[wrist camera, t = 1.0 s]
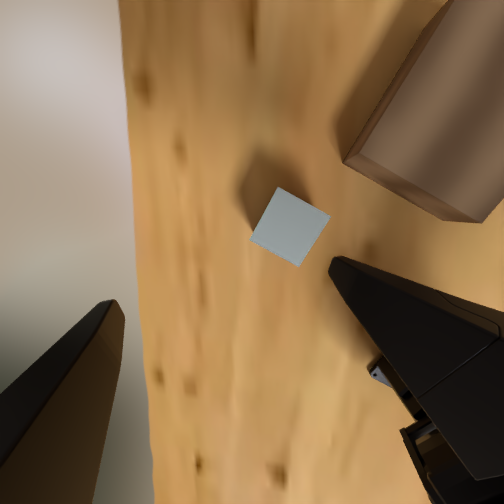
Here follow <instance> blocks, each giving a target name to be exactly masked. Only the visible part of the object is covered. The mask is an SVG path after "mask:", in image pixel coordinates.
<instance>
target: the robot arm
mask: <svg viewBox="0 0 504 504" xmlns="http://www.w3.org/2000/svg"><path fill="white" fill-rule="evenodd" d="M328 273H329V276H330V278H331V279H332V281H333V283H334V284H335V286H336V288H337V289H338V291H339V293H340V294H341V296H342V298H343V299H344V301H345V302H346V304H347V305H348V307H349V308H350V309H351V311H352V312H353V313H354V315H355V316H356V318H357V319H358V320H359V322H360V323H361V324H362V326H363V327H364V329H365V330H366V331H367V333H368V334H369V335H370V337H371V338H372V339H373V341H374V342H375V344H376V345H377V346H378V348H379V349H380V350H381V352H382V353H383V356H382V357H381V358H380V360H379V361H378V362H377V363H376V364H375V365H374V366H373V367H372V368H371V370H370V371H369V374H370V375H371V377H372V378H374V379H376V380H378V381H380V382H382V383H383V384H385V385H387V386H389V387H391V388H393V390H394V391H395V393H396V394H397V396H398V397H399V399H400V400H401V401H402V403H403V404H404V406H405V407H406V409H407V410H408V412H409V413H410V415H411V416H412V418H413V419H414V420H415V423H413V424H411V425H410V426H408V427H406V428H402V429H400V430H399V431H400V433H401V435H402V437H403V442H404V444H405V446H406V448H407V450H408V453H409V455H410V457H411V459H412V461H413V464H414V466H415V468H416V470H417V472H418V475H419V477H420V479H421V481H422V483H423V486H424V488H425V490H426V491H427V494H428V497H429V500H430V501H431V503H432V504H504V312H501V311H498V310H495V309H492V308H489V307H486V306H483V305H480V304H476V303H473V302H470V301H467V300H464V299H461V298H459V297H456V296H453V295H450V294H447V293H444V292H442V291H439V290H434V289H433V288H430V287H428V286H425V285H422V284H419V283H416V282H414V281H411V280H408V279H405V278H402V277H400V276H397V275H394V274H391V273H389V272H386V271H383V270H380V269H377V268H375V267H372V266H369V265H366V264H364V263H361V262H358V261H355V260H352V259H350V258H347V257H344V256H337V257H334V258H333V259H332V261H331V264H330V267H329V270H328ZM124 326H125V316H124V313H123V312H122V310H121V308H120V306H119V304H118V302H117V301H116V300H114V299H112V300H106V301H102V302H100V303H98V304H97V305H96V306H95V307H94V308H93V309H92V310H91V311H90V312H88V313H87V314H86V315H85V316H84V317H83V318H82V319H81V320H80V321H79V322H78V323H77V324H75V325H74V326H73V327H72V328H71V329H70V330H69V331H68V332H67V333H66V334H65V335H64V336H62V337H61V338H60V339H59V340H58V341H57V342H56V343H55V344H54V345H53V346H52V347H51V348H49V349H48V350H47V351H46V352H45V353H44V354H43V355H42V356H41V357H40V358H39V359H38V360H36V361H35V362H34V363H33V364H32V365H31V366H30V367H29V368H28V369H27V370H26V371H24V372H23V373H22V374H21V375H20V376H19V377H18V378H17V379H16V380H15V381H14V382H13V383H11V384H10V385H9V386H8V387H7V388H6V389H5V390H4V391H3V392H2V393H1V394H0V504H92V501H93V496H94V491H95V486H96V482H97V477H98V473H99V468H100V463H101V458H102V453H103V448H104V444H105V439H106V434H107V429H108V425H109V420H110V415H111V410H112V406H113V401H114V396H115V391H116V387H117V381H118V377H119V372H120V367H121V360H122V349H123V338H124Z"/></svg>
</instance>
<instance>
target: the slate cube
mask: <svg viewBox="0 0 504 504" xmlns="http://www.w3.org/2000/svg"><path fill="white" fill-rule="evenodd" d="M330 217H331V216H329V215H328V214H326V213H324V212H322V211H320V210H319V209H317V208H315V207H313V206H311V205H310V204H308V203H306V202H304V201H303V200H301V199H299V198H297V197H295V196H294V195H292V194H290V193H288V192H287V191H285V190H283V189H281V188H279V187H278V188H277V190H276V191H275V193H274V195H273V197H272V199H271V201H270V202H269V204H268V206H267V208H266V210H265V212H264V214H263V215H262V217H261V219H260V221H259V223H258V225H257V227H256V228H255V230H254V232H253V234H252V236H251V238H250V239H249V240H250V241H252V242H254V243H256V244H258V245H260V246H261V247H263V248H265V249H267V250H269V251H271V252H272V253H274V254H276V255H278V256H280V257H282V258H283V259H285V260H287V261H289V262H291V263H293V264H294V265H296V266H298V267H299V266H300V264H301V263H302V261H303V260H304V258H305V256H306V255H307V253H308V252H309V250H310V249H311V247H312V246H313V244H314V242H315V241H316V239H317V238H318V236H319V235H320V233H321V232H322V230H323V228H324V227H325V225H326V224H327V222H328V221H329V219H330Z"/></svg>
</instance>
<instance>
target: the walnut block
mask: <svg viewBox="0 0 504 504" xmlns="http://www.w3.org/2000/svg"><path fill="white" fill-rule="evenodd" d="M343 164H345V165H347V166H348V167H350V168H352V169H354V170H355V171H357V172H359V173H361V174H362V175H364V176H366V177H368V178H369V179H371V180H373V181H375V182H376V183H378V184H380V185H382V186H383V187H385V188H387V189H388V190H390V191H392V192H394V193H395V194H397V195H399V196H401V197H402V198H404V199H406V200H408V201H409V202H411V203H413V204H415V205H416V206H418V207H420V208H422V209H423V210H425V211H427V212H429V213H430V214H432V215H434V216H436V217H437V218H439V219H441V220H443V221H454V222H468V223H481V224H482V222H483V221H484V220H485V219H486V218H487V217H488V215H489V214H490V213H491V212H492V211H493V210H494V209H495V207H496V206H497V205H498V204H499V203H500V202H501V201H502V199H503V198H504V0H448V1H447V2H446V3H445V5H444V6H443V7H442V8H441V9H440V10H439V12H438V13H437V14H436V15H435V16H434V17H433V18H432V20H431V21H430V22H429V23H428V24H427V25H426V27H425V28H424V30H423V31H422V33H421V35H420V36H419V38H418V40H417V41H416V43H415V44H414V46H413V48H412V49H411V51H410V53H409V54H408V56H407V58H406V59H405V61H404V63H403V64H402V66H401V67H400V69H399V71H398V72H397V74H396V76H395V77H394V79H393V81H392V82H391V84H390V86H389V87H388V89H387V90H386V92H385V94H384V95H383V97H382V99H381V100H380V102H379V104H378V105H377V107H376V109H375V110H374V112H373V113H372V115H371V117H370V118H369V120H368V122H367V123H366V125H365V127H364V128H363V130H362V131H361V133H360V135H359V136H358V138H357V140H356V141H355V143H354V145H353V146H352V148H351V150H350V151H349V153H348V154H347V156H346V158H345V159H344V161H343Z"/></svg>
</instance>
